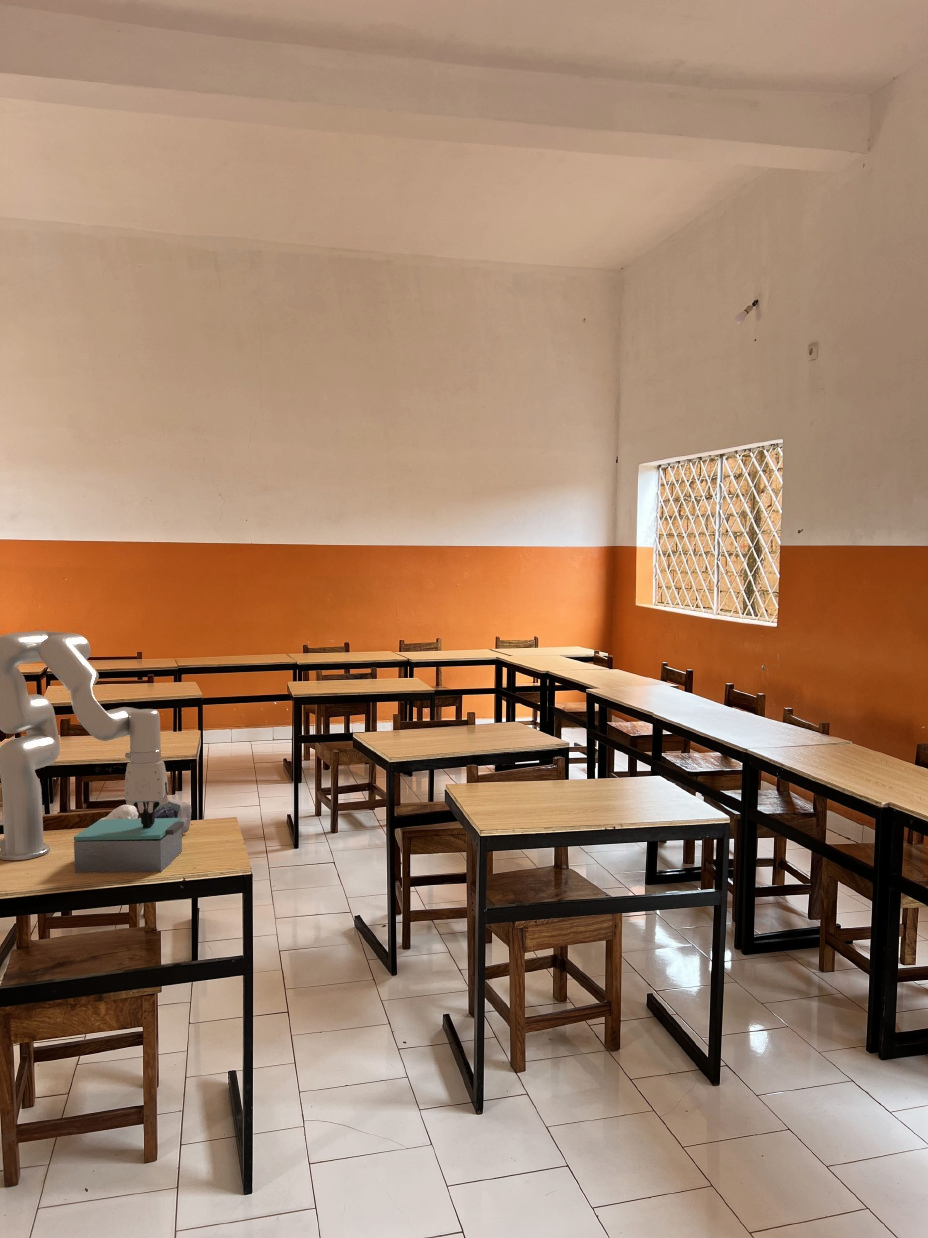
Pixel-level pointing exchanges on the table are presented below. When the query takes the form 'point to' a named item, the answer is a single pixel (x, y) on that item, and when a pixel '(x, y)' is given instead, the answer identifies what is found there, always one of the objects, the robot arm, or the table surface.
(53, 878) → the table surface
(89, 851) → the grey storage box
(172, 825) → the lid
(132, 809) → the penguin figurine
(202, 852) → the table surface
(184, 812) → the cell model
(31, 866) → the table surface
